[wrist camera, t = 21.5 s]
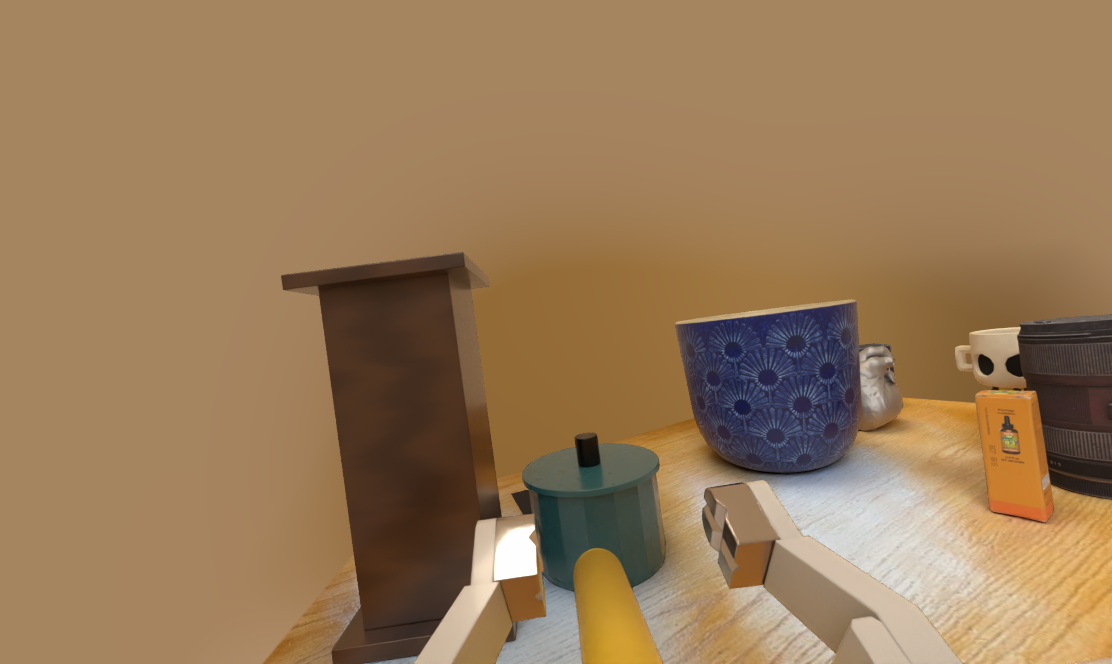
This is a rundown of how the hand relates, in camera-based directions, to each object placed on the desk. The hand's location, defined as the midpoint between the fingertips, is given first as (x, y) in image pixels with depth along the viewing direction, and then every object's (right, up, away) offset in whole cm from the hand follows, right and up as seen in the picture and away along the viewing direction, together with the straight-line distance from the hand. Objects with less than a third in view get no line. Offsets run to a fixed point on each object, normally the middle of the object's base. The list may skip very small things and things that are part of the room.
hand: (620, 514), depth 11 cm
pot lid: (+1, -7, +26) cm, 27 cm away
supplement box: (+37, -10, +24) cm, 45 cm away
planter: (+27, -12, +42) cm, 51 cm away
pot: (+2, -15, +26) cm, 30 cm away
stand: (-11, -16, +22) cm, 30 cm away
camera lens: (+47, -9, +26) cm, 54 cm away
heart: (+44, -9, +51) cm, 68 cm away
